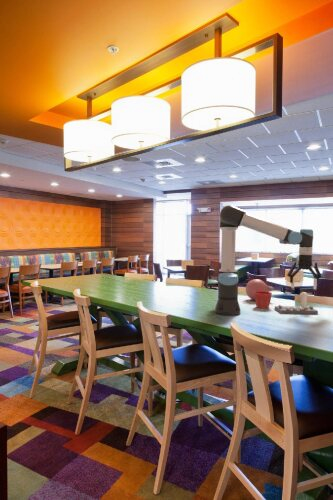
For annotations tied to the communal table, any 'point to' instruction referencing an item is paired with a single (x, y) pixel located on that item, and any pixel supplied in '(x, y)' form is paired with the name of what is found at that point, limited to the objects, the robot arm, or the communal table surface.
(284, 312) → the console
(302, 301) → the fader tab
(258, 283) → the balloon
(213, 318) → the communal table surface
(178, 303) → the communal table surface
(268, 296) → the flower pot
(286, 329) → the communal table surface
